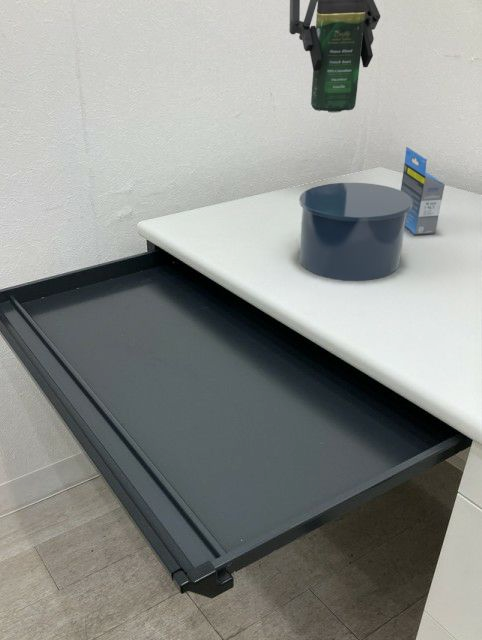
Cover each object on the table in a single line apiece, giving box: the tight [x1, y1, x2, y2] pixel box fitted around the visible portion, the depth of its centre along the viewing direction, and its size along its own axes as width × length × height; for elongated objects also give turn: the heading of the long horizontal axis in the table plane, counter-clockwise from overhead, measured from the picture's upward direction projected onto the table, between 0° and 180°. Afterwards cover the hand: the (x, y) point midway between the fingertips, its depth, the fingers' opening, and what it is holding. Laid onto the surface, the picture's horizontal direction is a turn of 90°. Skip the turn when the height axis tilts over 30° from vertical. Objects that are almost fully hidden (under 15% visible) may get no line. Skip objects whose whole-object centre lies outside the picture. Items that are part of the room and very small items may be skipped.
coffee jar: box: [310, 0, 366, 114], centre depth 102 cm, size 10×8×19 cm
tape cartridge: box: [400, 146, 446, 236], centre depth 99 cm, size 9×4×12 cm, turn 5°
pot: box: [298, 182, 413, 282], centre depth 89 cm, size 16×16×10 cm
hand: (343, 63), depth 101 cm, fingers closed on coffee jar, 8 cm apart
